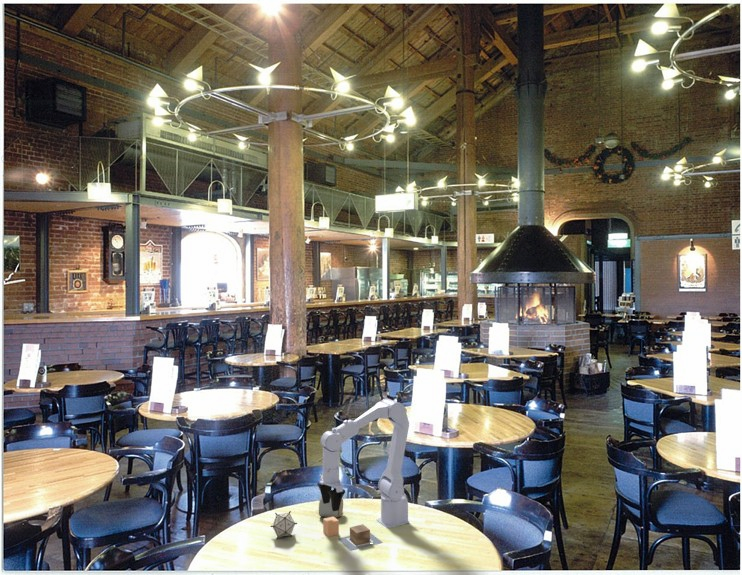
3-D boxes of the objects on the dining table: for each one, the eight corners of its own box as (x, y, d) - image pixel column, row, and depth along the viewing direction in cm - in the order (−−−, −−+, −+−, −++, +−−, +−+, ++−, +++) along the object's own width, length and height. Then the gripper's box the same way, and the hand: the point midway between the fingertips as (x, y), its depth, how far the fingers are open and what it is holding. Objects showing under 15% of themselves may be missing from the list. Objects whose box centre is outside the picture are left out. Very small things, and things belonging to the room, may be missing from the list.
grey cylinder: (340, 520, 199) (340, 499, 200) (318, 519, 200) (318, 498, 201) (345, 510, 210) (345, 489, 210) (324, 509, 211) (324, 488, 211)
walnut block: (362, 536, 186) (362, 524, 186) (370, 541, 182) (370, 529, 182) (349, 539, 183) (349, 527, 184) (356, 545, 179) (356, 532, 179)
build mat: (368, 532, 190) (368, 531, 190) (382, 543, 181) (382, 542, 181) (337, 539, 184) (337, 538, 184) (350, 551, 175) (350, 550, 175)
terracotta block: (333, 530, 191) (333, 516, 191) (338, 535, 188) (338, 520, 188) (323, 533, 189) (323, 518, 189) (328, 537, 186) (328, 522, 186)
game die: (286, 549, 185) (290, 533, 179) (264, 538, 186) (267, 522, 181) (299, 527, 192) (302, 511, 186) (277, 517, 194) (280, 500, 188)
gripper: (311, 463, 193) (312, 501, 193) (329, 475, 180) (329, 516, 180) (330, 460, 196) (330, 498, 196) (348, 471, 184) (348, 512, 184)
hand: (330, 506), depth 188 cm, fingers open, 7 cm apart
